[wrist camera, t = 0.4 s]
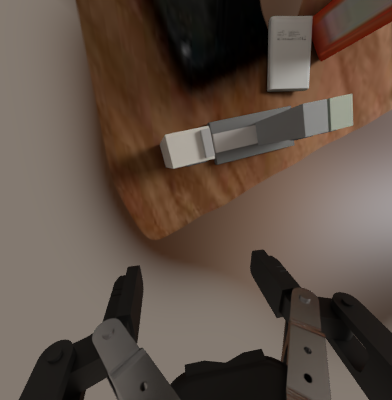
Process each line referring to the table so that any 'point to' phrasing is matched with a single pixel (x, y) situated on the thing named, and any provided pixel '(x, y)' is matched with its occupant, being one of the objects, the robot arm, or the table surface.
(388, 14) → the file binder
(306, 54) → the external hard drive
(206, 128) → the block
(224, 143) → the board
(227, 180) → the table surface
